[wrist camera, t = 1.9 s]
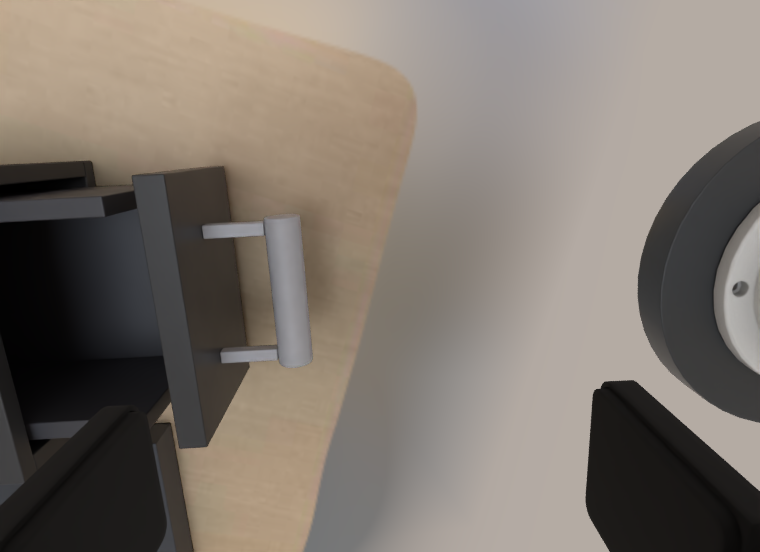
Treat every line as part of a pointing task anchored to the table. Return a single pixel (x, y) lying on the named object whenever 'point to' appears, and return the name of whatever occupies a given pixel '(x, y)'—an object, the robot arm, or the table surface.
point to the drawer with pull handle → (138, 301)
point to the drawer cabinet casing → (3, 415)
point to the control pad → (177, 536)
